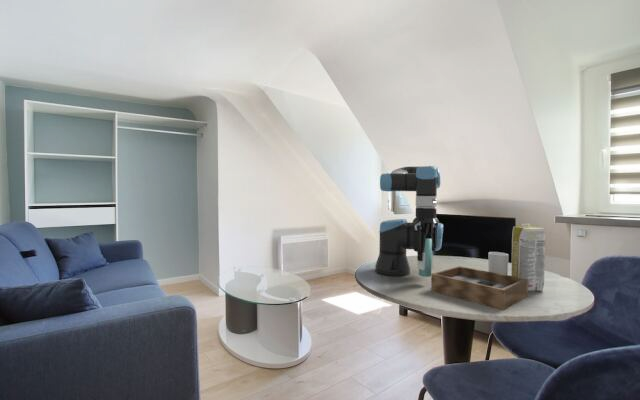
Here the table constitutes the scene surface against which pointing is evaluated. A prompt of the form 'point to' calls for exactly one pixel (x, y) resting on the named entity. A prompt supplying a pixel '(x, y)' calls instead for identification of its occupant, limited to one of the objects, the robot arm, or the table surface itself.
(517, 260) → the juice carton
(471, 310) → the table surface
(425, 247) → the peg
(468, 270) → the crate
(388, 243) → the robot arm
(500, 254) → the mug
